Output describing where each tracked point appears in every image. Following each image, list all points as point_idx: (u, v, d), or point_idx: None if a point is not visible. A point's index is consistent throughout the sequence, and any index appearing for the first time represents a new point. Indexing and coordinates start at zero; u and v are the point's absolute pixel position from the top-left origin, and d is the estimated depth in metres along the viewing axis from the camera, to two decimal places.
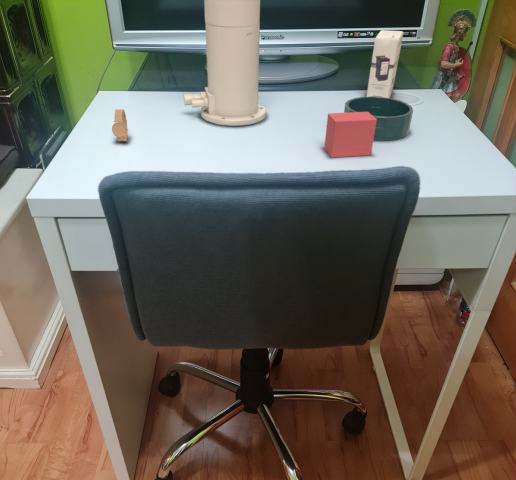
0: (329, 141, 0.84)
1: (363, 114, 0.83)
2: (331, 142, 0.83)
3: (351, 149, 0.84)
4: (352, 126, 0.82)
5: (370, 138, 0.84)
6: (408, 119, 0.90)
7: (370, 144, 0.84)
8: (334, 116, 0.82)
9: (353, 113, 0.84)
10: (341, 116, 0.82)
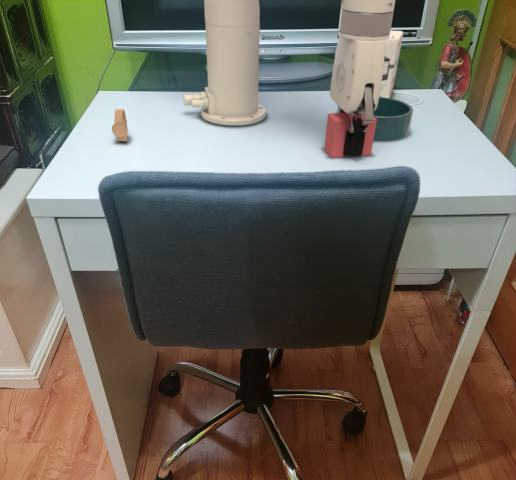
0: (329, 141, 0.84)
1: None
2: (331, 142, 0.83)
3: None
4: None
5: (370, 138, 0.84)
6: (408, 119, 0.90)
7: (370, 144, 0.84)
8: (334, 116, 0.82)
9: None
10: (341, 116, 0.82)
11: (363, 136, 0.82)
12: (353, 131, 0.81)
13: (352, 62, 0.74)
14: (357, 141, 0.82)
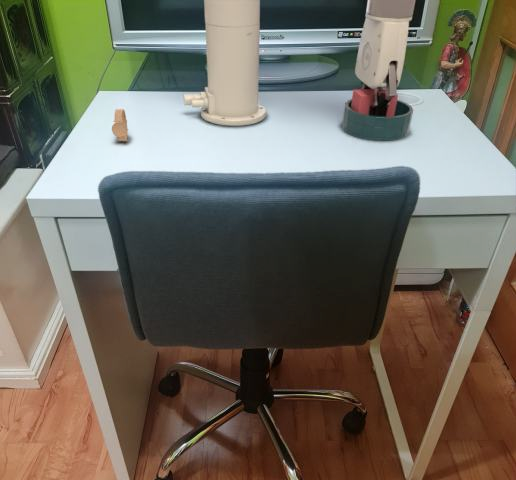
0: None
1: None
2: None
3: None
4: None
5: (391, 112, 0.92)
6: (408, 119, 0.90)
7: None
8: (359, 92, 0.90)
9: None
10: (366, 91, 0.91)
11: (385, 111, 0.91)
12: (377, 105, 0.89)
13: (378, 41, 0.82)
14: (380, 115, 0.90)
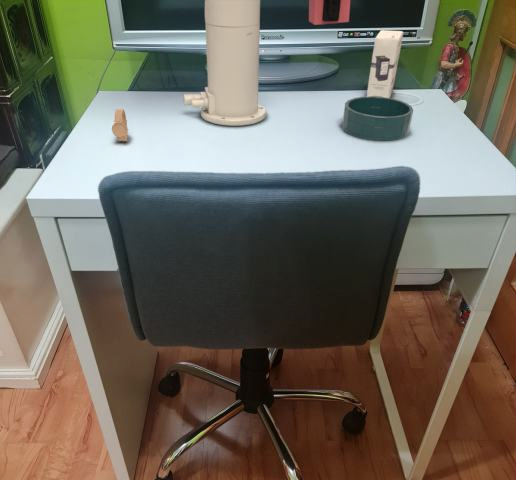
0: (312, 10, 0.98)
1: None
2: (313, 11, 0.97)
3: None
4: None
5: (347, 5, 0.97)
6: (408, 119, 0.90)
7: (347, 11, 0.98)
8: None
9: None
10: None
11: (339, 1, 0.96)
12: None
13: None
14: (334, 5, 0.95)
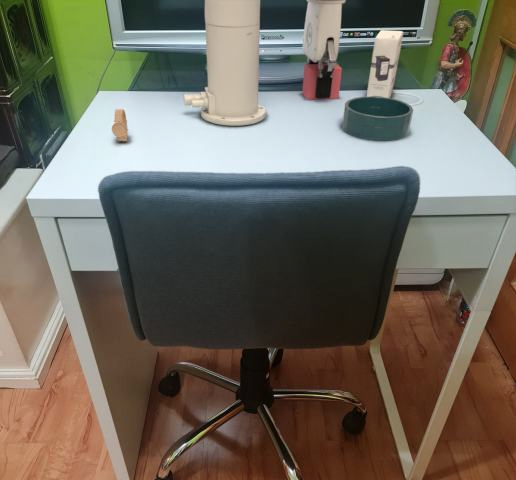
0: (306, 86, 1.07)
1: None
2: (307, 87, 1.07)
3: None
4: None
5: (337, 84, 1.07)
6: (408, 119, 0.90)
7: (337, 89, 1.08)
8: (309, 66, 1.06)
9: (324, 64, 1.07)
10: (314, 66, 1.06)
11: (330, 81, 1.04)
12: (322, 76, 1.02)
13: (316, 21, 0.97)
14: (325, 85, 1.04)
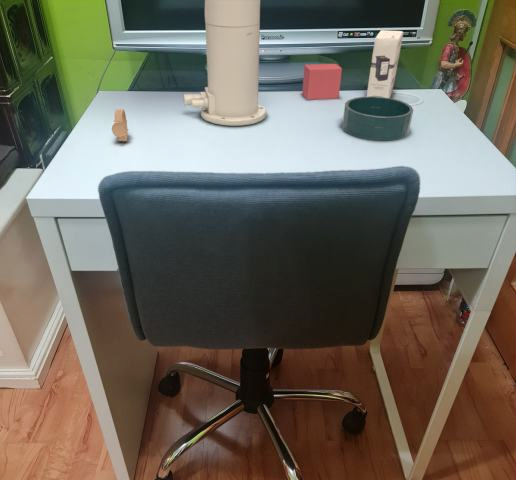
0: (306, 86, 1.07)
1: (332, 65, 1.07)
2: (307, 87, 1.07)
3: (323, 92, 1.08)
4: (322, 73, 1.05)
5: (337, 84, 1.07)
6: (408, 119, 0.90)
7: (337, 89, 1.08)
8: (309, 66, 1.06)
9: (324, 64, 1.07)
10: (314, 66, 1.06)
11: None
12: None
13: None
14: None
